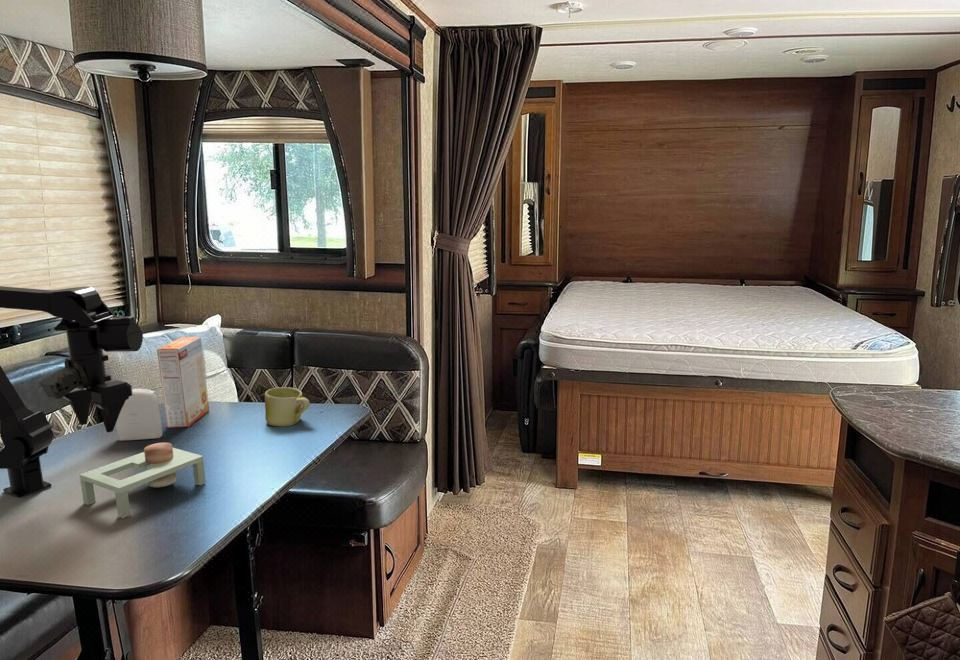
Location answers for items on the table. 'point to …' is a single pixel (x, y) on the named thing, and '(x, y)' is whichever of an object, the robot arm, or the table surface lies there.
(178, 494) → the table surface
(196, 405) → the cracker box
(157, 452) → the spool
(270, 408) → the mug
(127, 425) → the photo printer
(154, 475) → the keyhole board
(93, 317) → the robot arm
